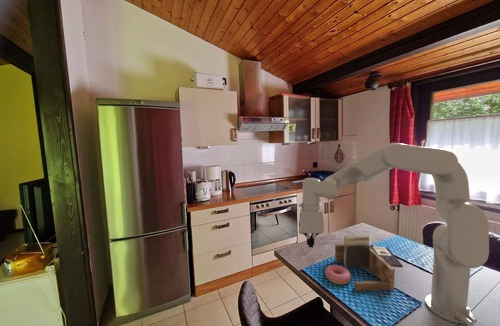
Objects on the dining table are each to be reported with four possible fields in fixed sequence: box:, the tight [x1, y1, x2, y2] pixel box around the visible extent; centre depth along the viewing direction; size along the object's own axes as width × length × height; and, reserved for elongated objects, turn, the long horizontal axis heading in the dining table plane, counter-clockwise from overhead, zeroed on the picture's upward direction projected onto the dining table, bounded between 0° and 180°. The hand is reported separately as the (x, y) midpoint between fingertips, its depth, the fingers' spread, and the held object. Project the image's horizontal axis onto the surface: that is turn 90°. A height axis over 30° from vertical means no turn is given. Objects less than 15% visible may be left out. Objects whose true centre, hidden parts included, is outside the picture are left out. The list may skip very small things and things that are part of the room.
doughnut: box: [324, 264, 352, 285], centre depth 97 cm, size 11×11×4 cm
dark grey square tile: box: [345, 244, 370, 269], centre depth 104 cm, size 1×11×11 cm, turn 90°
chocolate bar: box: [369, 245, 404, 268], centre depth 113 cm, size 9×1×18 cm
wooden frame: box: [334, 234, 396, 292], centre depth 99 cm, size 22×16×15 cm
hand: (310, 245), depth 95 cm, fingers closed
